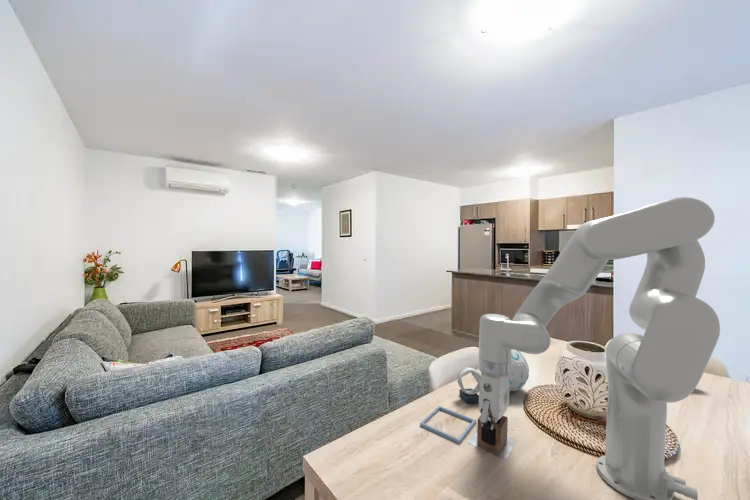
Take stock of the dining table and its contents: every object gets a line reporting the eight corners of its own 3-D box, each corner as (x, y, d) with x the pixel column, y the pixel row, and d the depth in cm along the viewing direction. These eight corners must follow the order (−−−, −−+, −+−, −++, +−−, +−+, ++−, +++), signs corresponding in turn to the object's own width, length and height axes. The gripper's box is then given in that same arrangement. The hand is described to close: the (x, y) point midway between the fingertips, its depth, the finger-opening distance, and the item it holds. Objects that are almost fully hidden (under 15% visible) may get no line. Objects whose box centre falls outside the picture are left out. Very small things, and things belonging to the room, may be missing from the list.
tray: (475, 427, 82) (476, 420, 82) (459, 448, 73) (459, 440, 73) (438, 412, 89) (439, 405, 89) (420, 430, 80) (420, 422, 80)
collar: (507, 440, 75) (507, 417, 75) (500, 452, 70) (501, 427, 70) (484, 431, 78) (485, 409, 78) (477, 442, 74) (477, 418, 74)
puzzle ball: (475, 378, 112) (476, 339, 111) (514, 378, 112) (515, 339, 112) (492, 400, 96) (493, 354, 96) (537, 400, 97) (539, 354, 97)
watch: (485, 406, 93) (486, 371, 92) (461, 408, 91) (462, 373, 91) (477, 397, 98) (478, 364, 98) (454, 398, 97) (454, 365, 97)
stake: (515, 444, 75) (516, 415, 75) (506, 465, 68) (507, 432, 68) (480, 430, 81) (481, 402, 80) (467, 447, 74) (468, 417, 73)
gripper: (499, 382, 65) (497, 463, 65) (519, 358, 78) (516, 426, 79) (466, 372, 69) (464, 447, 70) (489, 351, 83) (488, 415, 83)
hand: (492, 435), depth 74 cm, fingers closed on collar, 5 cm apart
